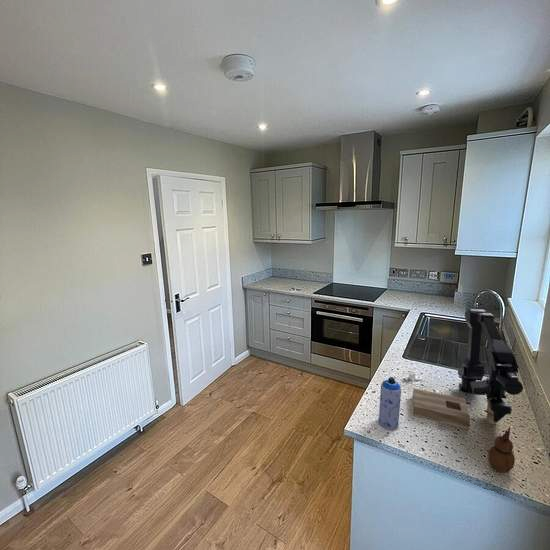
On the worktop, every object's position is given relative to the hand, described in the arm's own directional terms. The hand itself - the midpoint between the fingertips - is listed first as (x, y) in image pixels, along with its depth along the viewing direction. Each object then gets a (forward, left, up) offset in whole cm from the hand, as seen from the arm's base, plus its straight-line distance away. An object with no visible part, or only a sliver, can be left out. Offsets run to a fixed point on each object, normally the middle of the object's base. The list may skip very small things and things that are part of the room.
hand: (492, 414), depth 119 cm
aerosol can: (+18, -38, -3) cm, 42 cm away
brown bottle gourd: (+26, -3, -3) cm, 26 cm away
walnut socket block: (+2, -19, -3) cm, 19 cm away
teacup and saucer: (-19, -27, -4) cm, 33 cm away
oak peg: (0, 0, -3) cm, 3 cm away
